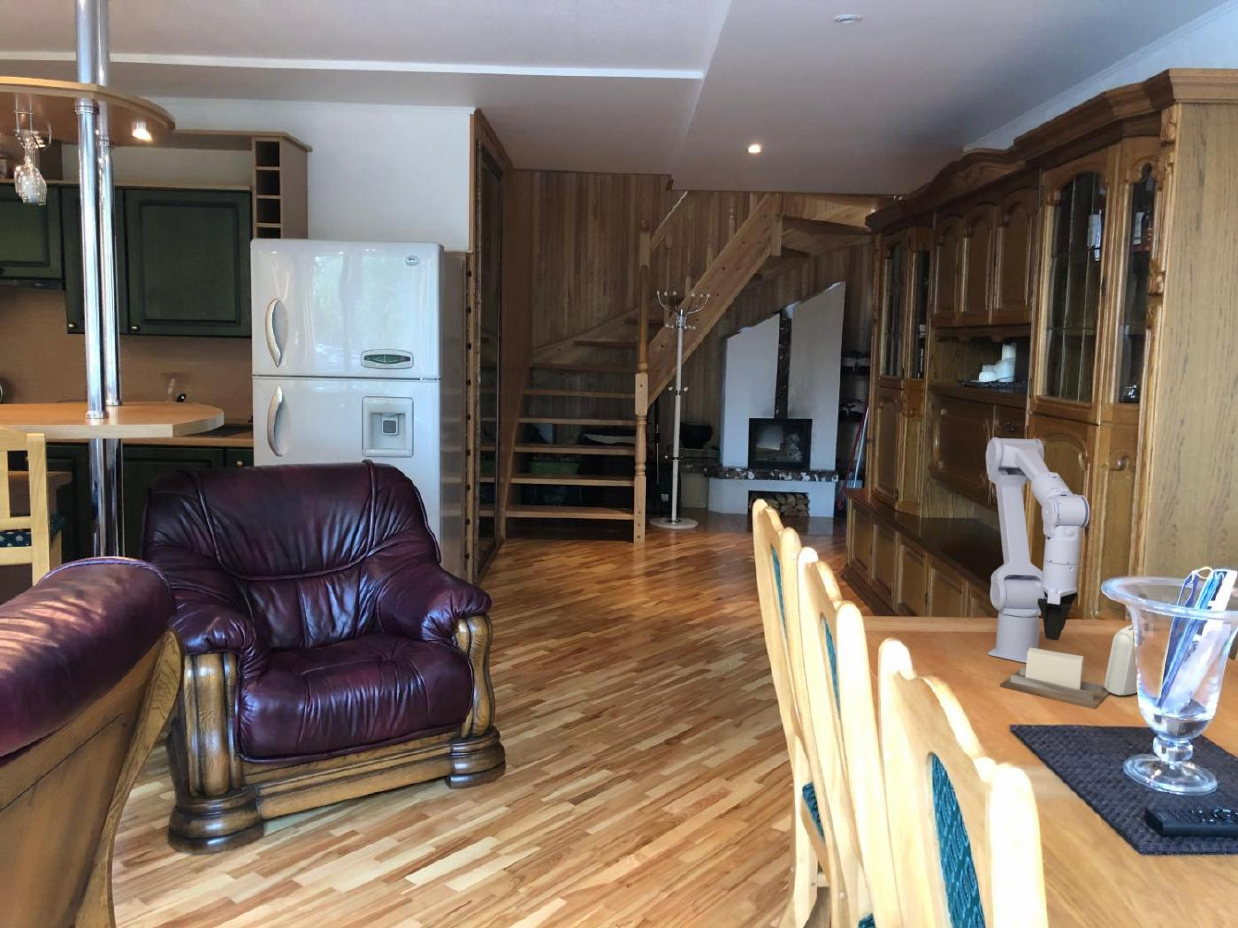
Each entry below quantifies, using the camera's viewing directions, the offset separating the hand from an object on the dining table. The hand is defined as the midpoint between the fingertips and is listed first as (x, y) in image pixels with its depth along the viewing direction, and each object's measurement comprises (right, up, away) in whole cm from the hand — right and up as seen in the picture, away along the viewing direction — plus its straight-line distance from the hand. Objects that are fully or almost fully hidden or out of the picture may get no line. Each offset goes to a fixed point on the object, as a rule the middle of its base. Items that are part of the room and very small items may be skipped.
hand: (1054, 634), depth 179 cm
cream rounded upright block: (+12, -10, -2) cm, 16 cm away
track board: (-1, -10, -2) cm, 10 cm away
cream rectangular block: (-1, -9, -2) cm, 9 cm away
